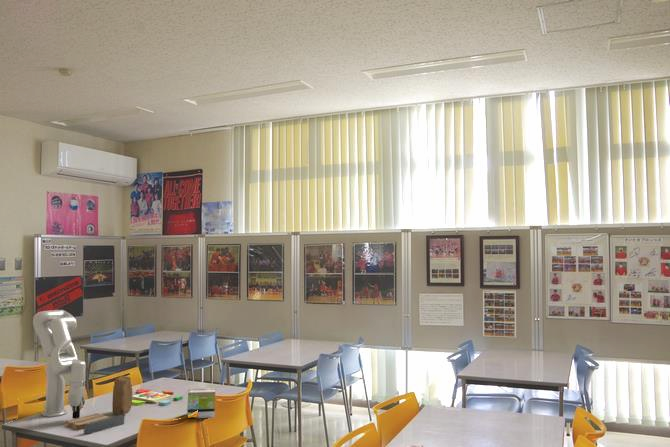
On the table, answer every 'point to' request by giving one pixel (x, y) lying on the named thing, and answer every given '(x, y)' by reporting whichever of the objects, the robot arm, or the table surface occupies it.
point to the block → (122, 395)
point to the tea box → (201, 402)
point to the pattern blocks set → (153, 397)
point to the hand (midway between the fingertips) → (76, 417)
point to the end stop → (103, 423)
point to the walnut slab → (83, 421)
